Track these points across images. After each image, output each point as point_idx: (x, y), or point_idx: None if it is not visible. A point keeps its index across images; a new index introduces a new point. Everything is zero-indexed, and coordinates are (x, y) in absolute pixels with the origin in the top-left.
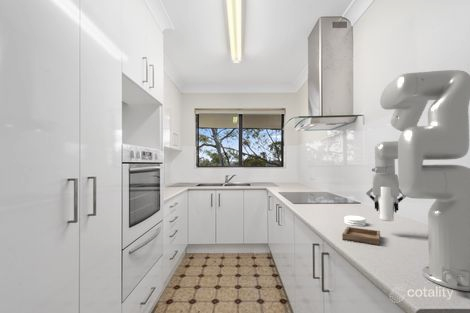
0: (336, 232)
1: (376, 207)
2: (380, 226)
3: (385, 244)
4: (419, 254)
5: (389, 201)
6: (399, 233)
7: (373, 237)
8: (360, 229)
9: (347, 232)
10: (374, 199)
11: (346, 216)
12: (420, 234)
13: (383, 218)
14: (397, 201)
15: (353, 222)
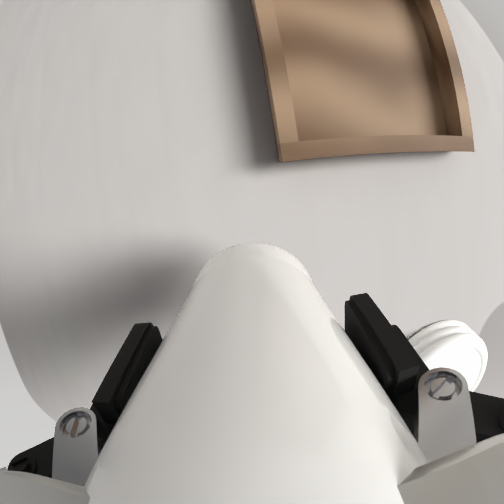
0: (485, 115)
1: (381, 313)
2: None
3: (222, 26)
4: (81, 9)
5: (157, 383)
6: None
7: (305, 84)
8: (404, 135)
9: (440, 59)
10: (463, 396)
11: (478, 377)
12: None
13: (273, 249)
14: (70, 431)
15: (449, 330)
